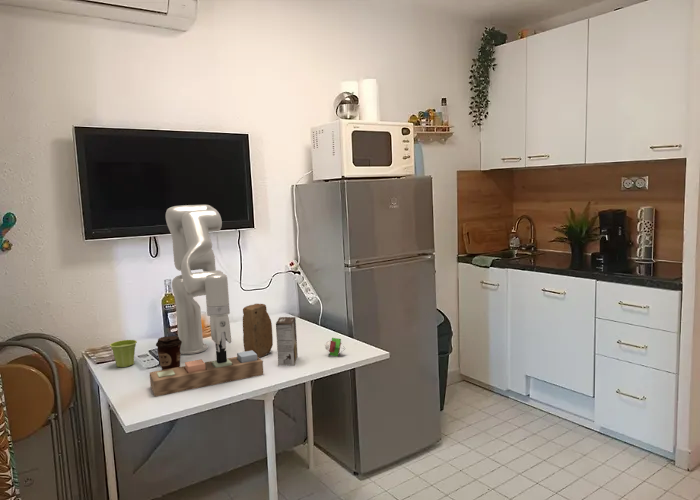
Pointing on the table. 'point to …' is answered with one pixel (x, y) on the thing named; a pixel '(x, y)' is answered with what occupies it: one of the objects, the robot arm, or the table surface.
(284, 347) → the coffee box
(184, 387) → the button panel
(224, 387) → the table surface
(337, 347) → the geometric puzzle
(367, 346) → the table surface
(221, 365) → the sage button
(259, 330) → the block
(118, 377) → the table surface
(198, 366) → the terracotta button
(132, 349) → the plant pot
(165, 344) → the coffee cup
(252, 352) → the slate button
